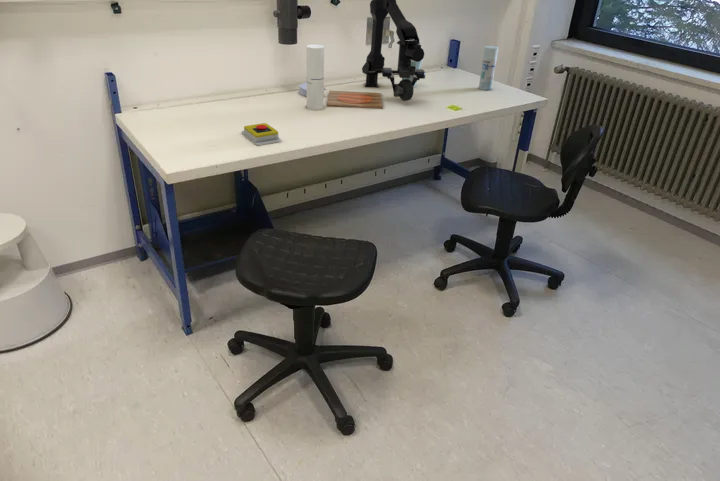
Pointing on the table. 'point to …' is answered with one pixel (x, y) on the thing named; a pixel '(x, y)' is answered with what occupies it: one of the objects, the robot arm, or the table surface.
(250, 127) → the emergency button
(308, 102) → the cylindrical container
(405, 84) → the caster wheel
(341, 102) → the wooden board
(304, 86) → the wedge on round base
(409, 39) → the robot arm
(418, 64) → the disposable coffee cup
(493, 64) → the spray paint can
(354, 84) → the table surface
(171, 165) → the table surface
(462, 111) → the table surface
